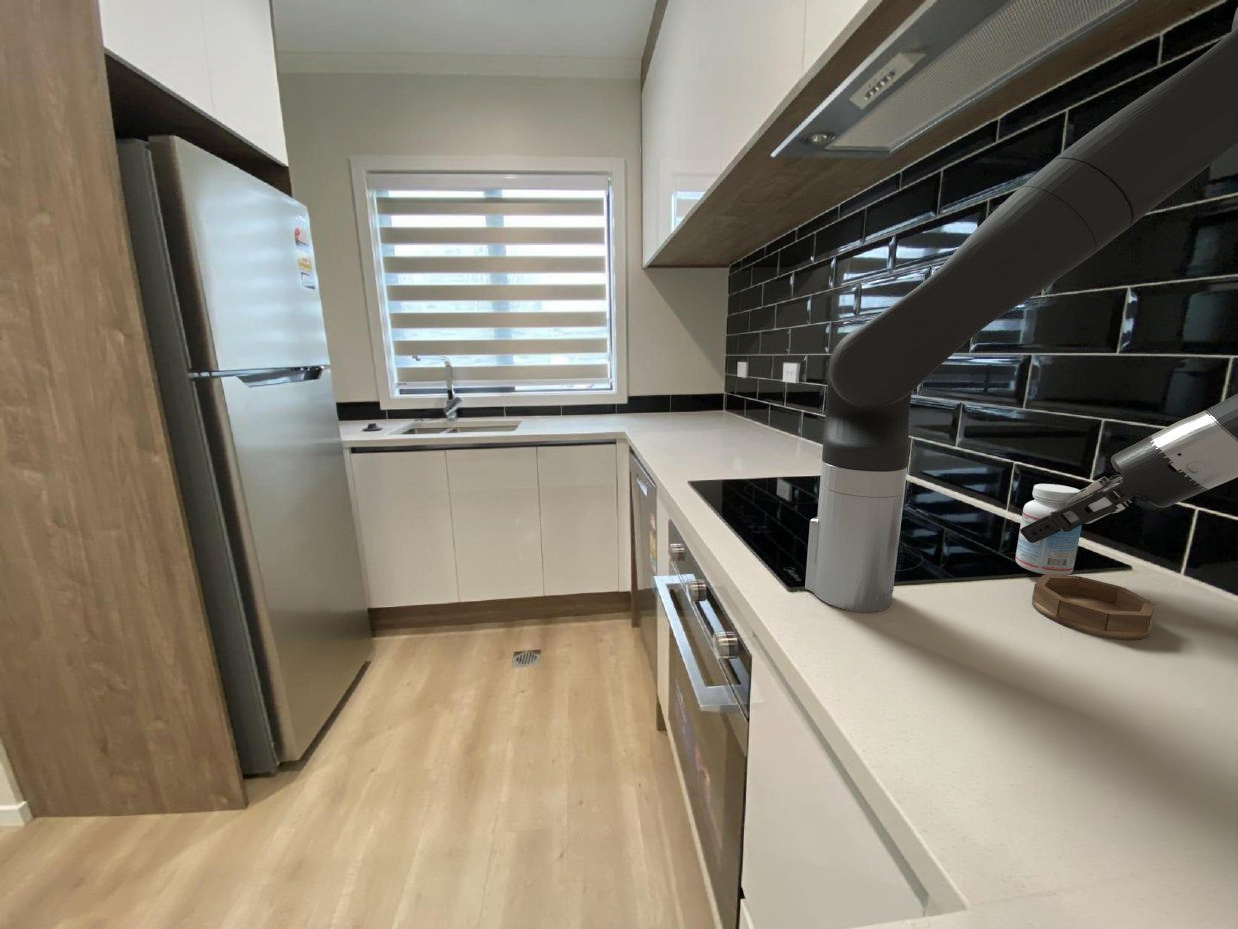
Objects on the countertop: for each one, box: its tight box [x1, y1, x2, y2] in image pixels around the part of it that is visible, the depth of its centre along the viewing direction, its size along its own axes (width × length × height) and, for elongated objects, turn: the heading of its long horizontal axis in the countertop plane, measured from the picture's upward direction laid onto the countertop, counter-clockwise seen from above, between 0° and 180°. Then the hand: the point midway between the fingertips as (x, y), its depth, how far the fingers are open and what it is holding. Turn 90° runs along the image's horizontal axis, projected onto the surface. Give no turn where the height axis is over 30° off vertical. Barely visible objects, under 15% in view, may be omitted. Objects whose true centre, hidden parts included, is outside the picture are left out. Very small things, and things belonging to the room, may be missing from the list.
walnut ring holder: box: [1031, 574, 1156, 641], centre depth 57 cm, size 10×10×3 cm
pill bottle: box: [1015, 483, 1083, 576], centre depth 66 cm, size 6×6×11 cm
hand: (1032, 530), depth 67 cm, fingers closed on pill bottle, 6 cm apart
